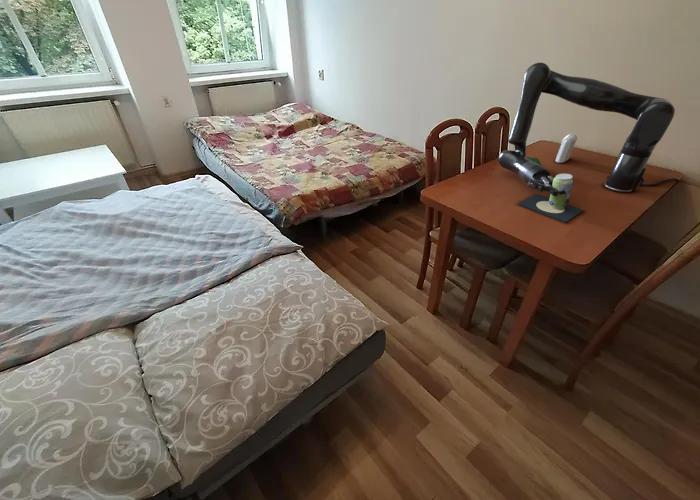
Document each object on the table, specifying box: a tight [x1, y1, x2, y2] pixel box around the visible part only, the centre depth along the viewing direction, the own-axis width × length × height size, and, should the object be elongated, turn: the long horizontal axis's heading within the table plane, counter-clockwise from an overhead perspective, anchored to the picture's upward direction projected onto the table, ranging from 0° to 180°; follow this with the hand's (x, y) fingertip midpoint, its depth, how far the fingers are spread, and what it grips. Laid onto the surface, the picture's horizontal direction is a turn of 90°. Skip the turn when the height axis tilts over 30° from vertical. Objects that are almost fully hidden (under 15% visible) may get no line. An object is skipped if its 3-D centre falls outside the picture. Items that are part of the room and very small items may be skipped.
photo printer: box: [555, 133, 578, 164], centre depth 155 cm, size 10×4×12 cm, turn 134°
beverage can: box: [549, 173, 574, 209], centre depth 116 cm, size 6×7×12 cm
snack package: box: [526, 156, 543, 167], centre depth 146 cm, size 7×16×5 cm, turn 165°
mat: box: [518, 193, 584, 224], centre depth 119 cm, size 17×13×1 cm
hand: (561, 193), depth 113 cm, fingers closed on beverage can, 3 cm apart
